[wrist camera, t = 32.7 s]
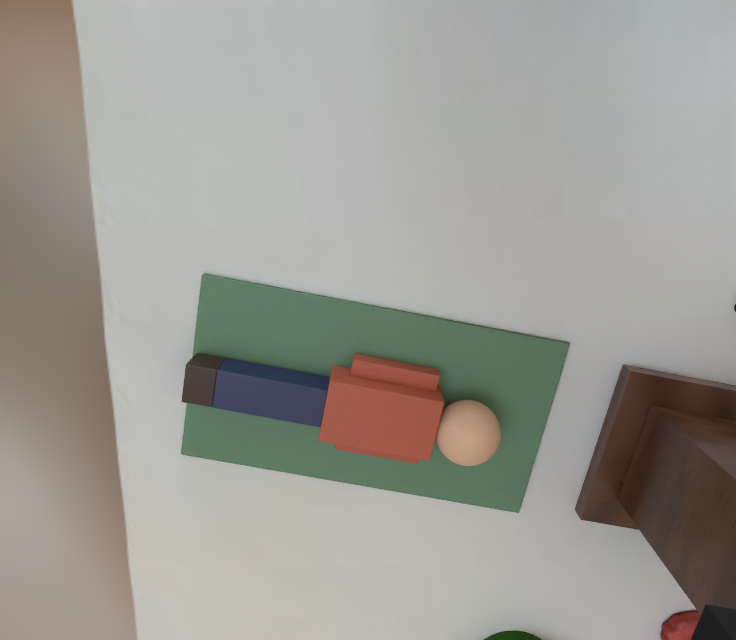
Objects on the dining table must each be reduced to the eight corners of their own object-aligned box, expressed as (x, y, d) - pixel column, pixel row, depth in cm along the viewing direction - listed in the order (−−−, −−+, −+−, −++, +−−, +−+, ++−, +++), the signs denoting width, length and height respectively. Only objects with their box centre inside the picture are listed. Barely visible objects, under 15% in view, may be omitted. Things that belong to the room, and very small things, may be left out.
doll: (190, 412, 49) (169, 441, 44) (201, 322, 47) (181, 342, 42) (480, 465, 50) (493, 499, 45) (504, 380, 48) (520, 406, 43)
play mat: (182, 451, 50) (180, 454, 50) (203, 273, 46) (202, 274, 46) (517, 509, 52) (518, 513, 51) (568, 342, 48) (570, 344, 47)
